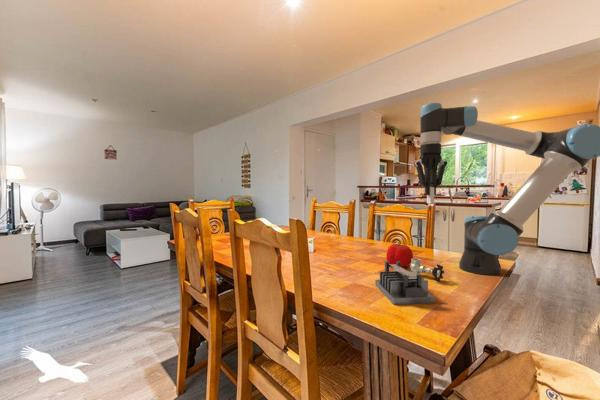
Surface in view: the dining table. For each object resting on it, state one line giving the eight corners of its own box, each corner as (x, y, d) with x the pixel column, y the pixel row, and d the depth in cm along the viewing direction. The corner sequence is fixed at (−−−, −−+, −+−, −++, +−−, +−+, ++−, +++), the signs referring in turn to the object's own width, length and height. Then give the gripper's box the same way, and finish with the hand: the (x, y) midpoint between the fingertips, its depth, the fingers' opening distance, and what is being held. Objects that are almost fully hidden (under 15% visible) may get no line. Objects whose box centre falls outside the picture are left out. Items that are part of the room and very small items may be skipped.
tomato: (381, 263, 131) (381, 241, 130) (403, 262, 133) (403, 240, 133) (394, 271, 119) (394, 247, 119) (418, 269, 121) (418, 246, 121)
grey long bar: (388, 266, 103) (388, 261, 103) (396, 266, 103) (395, 260, 103) (408, 279, 87) (408, 272, 87) (417, 279, 87) (417, 272, 87)
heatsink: (374, 284, 103) (374, 261, 103) (408, 283, 104) (409, 260, 104) (393, 304, 86) (393, 277, 85) (434, 303, 86) (435, 276, 86)
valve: (406, 275, 114) (434, 283, 104) (406, 259, 113) (435, 266, 103) (415, 272, 117) (444, 280, 108) (416, 257, 117) (444, 263, 107)
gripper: (441, 145, 115) (440, 202, 116) (410, 145, 114) (410, 203, 115) (452, 142, 107) (451, 203, 109) (419, 142, 106) (419, 204, 108)
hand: (430, 203), depth 112 cm, fingers closed
